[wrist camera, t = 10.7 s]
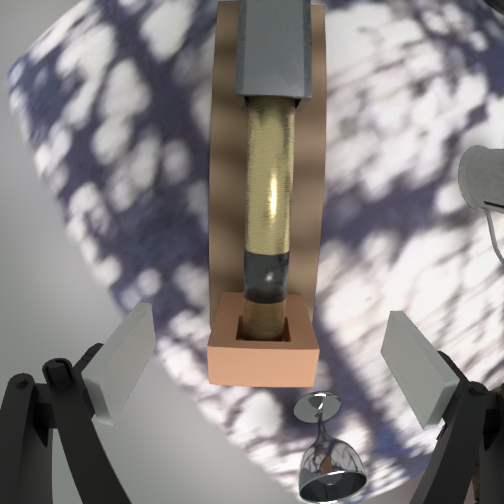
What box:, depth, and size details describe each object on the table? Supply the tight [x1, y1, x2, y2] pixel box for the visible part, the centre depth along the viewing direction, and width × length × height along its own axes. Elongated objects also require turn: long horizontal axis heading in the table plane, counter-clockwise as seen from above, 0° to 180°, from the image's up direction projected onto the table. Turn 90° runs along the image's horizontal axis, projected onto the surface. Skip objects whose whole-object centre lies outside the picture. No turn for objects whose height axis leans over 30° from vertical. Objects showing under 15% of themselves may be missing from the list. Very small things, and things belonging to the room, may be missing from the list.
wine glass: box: [294, 391, 367, 504], centre depth 33 cm, size 8×8×15 cm
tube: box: [243, 96, 295, 342], centre depth 24 cm, size 26×4×4 cm, turn 178°
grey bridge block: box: [235, 0, 312, 111], centre depth 23 cm, size 14×5×11 cm, turn 178°
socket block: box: [207, 292, 320, 387], centre depth 30 cm, size 4×9×12 cm, turn 88°
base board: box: [209, 1, 326, 329], centre depth 31 cm, size 39×12×1 cm, turn 178°
